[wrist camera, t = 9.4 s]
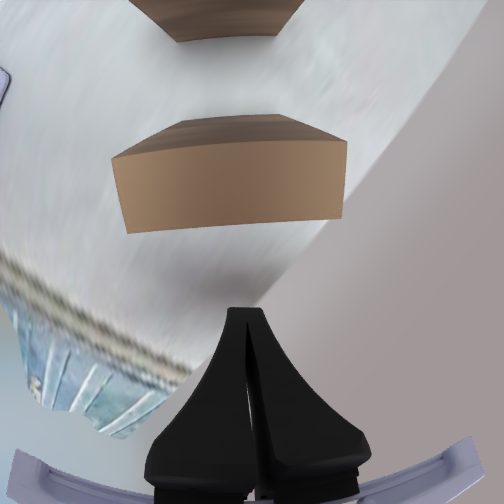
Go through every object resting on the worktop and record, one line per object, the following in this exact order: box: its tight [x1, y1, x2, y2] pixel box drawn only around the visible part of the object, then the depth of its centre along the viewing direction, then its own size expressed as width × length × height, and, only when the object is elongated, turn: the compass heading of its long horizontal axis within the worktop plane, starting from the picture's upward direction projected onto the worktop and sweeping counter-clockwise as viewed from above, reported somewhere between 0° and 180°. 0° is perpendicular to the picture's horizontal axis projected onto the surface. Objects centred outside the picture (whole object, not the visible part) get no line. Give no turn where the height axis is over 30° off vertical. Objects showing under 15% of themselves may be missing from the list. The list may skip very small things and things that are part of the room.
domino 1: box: [111, 114, 347, 234], centre depth 8 cm, size 4×2×8 cm, turn 92°
